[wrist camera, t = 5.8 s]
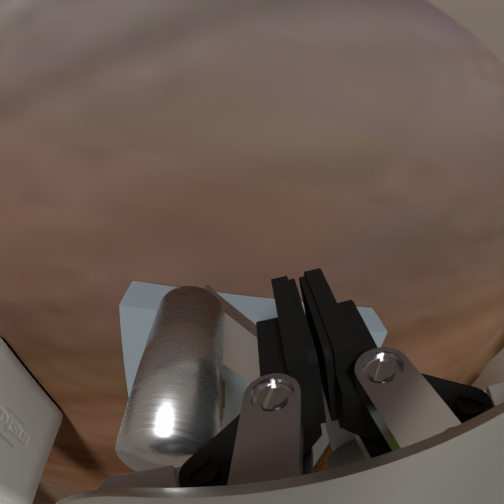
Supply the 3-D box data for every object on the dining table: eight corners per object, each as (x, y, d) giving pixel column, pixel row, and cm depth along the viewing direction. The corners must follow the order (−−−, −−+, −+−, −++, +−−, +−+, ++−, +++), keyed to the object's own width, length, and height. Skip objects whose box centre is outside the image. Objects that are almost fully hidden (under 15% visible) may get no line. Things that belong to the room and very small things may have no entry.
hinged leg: (314, 362, 16) (352, 498, 9) (274, 389, 17) (293, 521, 9) (191, 261, 13) (151, 418, 6) (151, 300, 14) (98, 451, 7)
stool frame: (301, 457, 25) (316, 541, 17) (146, 445, 23) (131, 533, 15) (371, 307, 18) (440, 421, 10) (132, 280, 17) (69, 406, 9)
